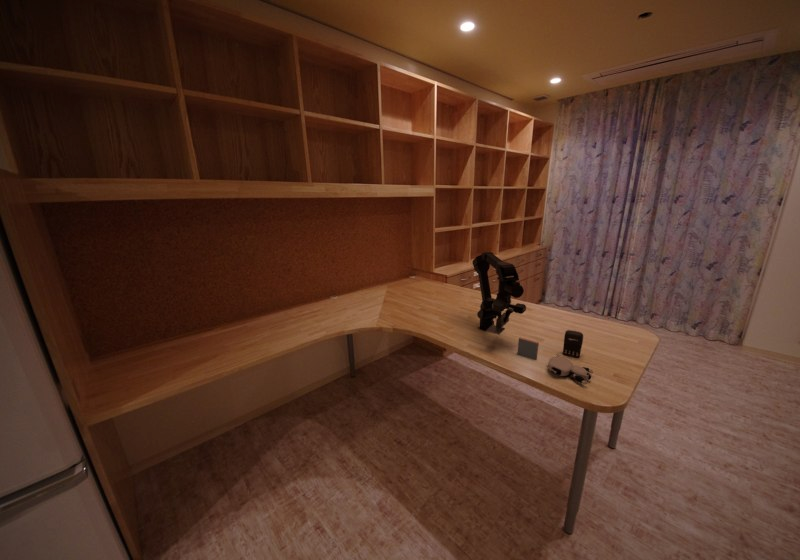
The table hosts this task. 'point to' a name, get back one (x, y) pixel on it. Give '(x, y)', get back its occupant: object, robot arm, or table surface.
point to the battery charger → (572, 343)
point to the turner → (498, 325)
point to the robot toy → (569, 369)
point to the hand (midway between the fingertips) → (502, 321)
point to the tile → (528, 348)
